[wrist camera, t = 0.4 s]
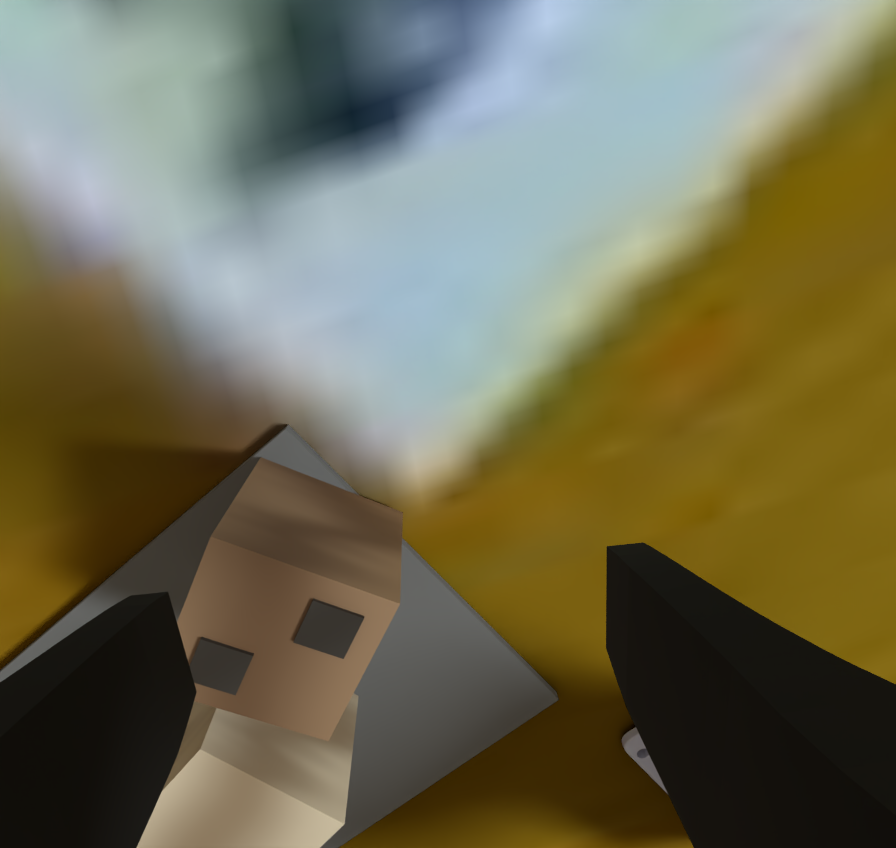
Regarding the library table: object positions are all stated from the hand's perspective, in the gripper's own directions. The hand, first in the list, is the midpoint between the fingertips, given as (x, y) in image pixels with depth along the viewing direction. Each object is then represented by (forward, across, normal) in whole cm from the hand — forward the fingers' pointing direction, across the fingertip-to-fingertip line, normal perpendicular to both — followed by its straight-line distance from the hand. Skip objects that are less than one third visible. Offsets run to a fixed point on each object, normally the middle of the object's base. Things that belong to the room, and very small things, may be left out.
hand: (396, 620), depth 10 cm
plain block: (+10, +6, +11) cm, 16 cm away
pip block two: (+10, +4, +4) cm, 11 cm away
